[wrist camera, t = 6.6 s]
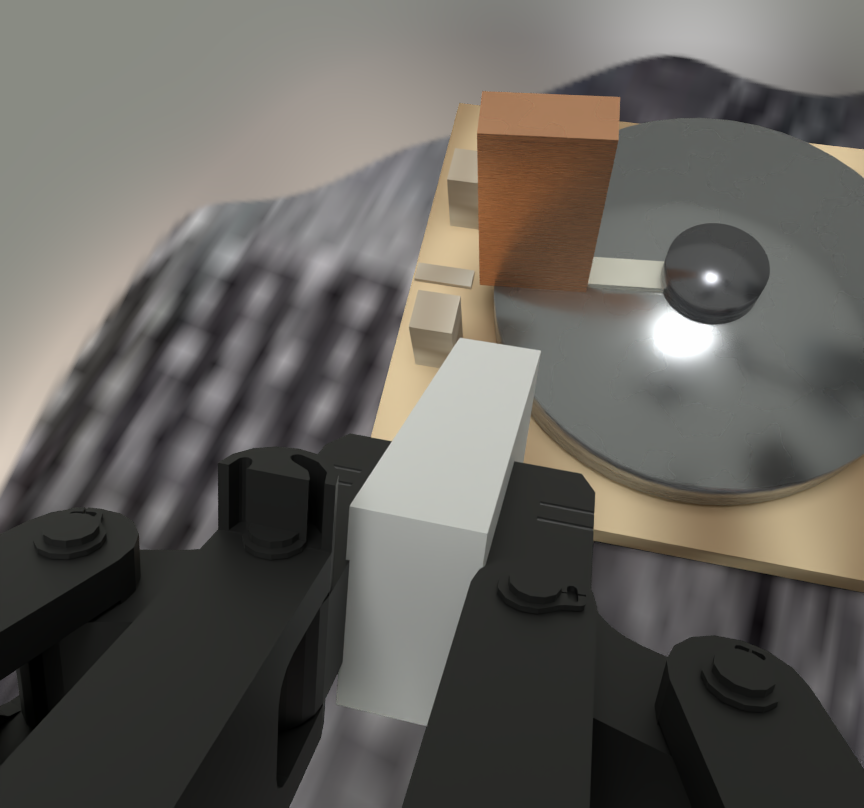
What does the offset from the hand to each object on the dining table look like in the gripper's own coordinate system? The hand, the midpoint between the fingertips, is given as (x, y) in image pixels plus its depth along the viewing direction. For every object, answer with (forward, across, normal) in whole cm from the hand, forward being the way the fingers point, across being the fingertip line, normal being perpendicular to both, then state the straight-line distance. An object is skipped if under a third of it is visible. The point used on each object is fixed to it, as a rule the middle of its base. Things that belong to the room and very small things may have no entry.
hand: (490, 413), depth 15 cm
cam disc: (+18, +6, -2) cm, 19 cm away
